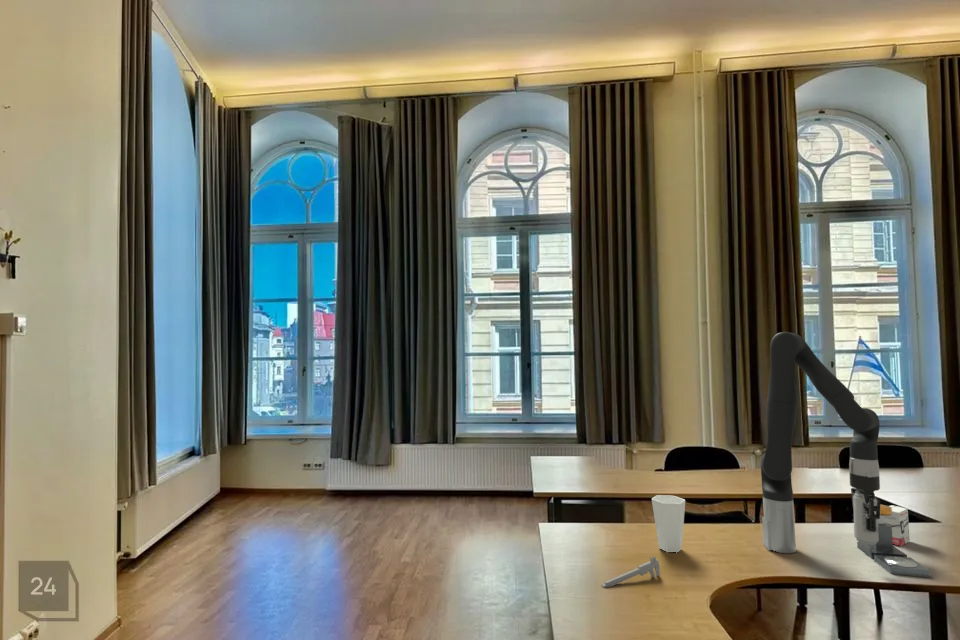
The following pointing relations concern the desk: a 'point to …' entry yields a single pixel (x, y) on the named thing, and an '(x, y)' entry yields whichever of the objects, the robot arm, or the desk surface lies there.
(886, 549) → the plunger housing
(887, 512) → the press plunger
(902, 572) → the plate
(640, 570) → the caliper
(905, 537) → the ink box
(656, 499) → the cup
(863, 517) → the energy drink can
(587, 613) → the desk surface
